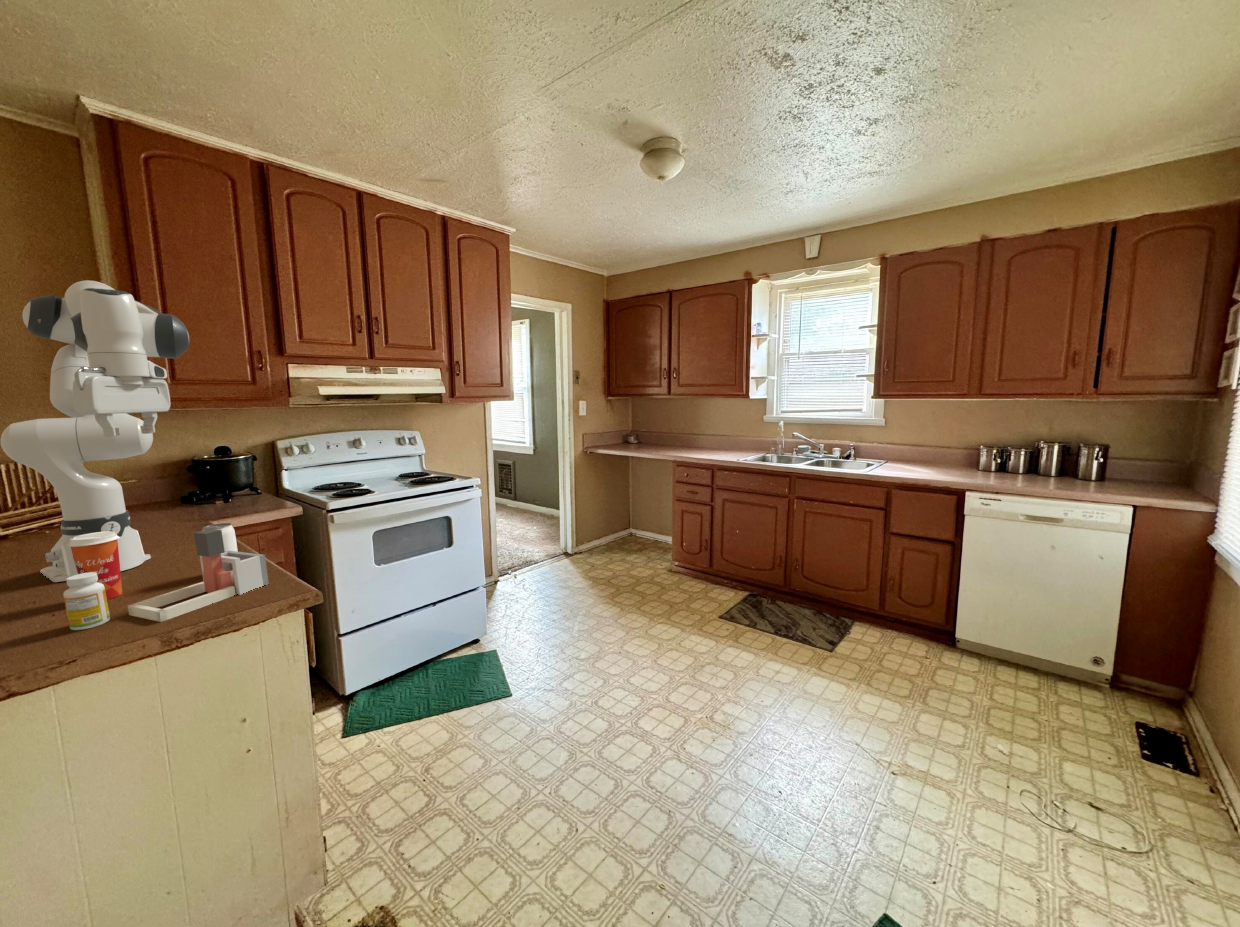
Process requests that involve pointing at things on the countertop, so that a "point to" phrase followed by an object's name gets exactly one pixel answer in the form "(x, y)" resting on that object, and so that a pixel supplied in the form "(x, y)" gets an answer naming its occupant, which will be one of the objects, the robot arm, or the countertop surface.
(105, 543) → the paper cup
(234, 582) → the ball
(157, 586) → the countertop surface
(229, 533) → the can
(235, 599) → the countertop surface
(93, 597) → the supplement bottle
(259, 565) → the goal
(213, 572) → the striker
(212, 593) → the white flat open frame
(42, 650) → the countertop surface
